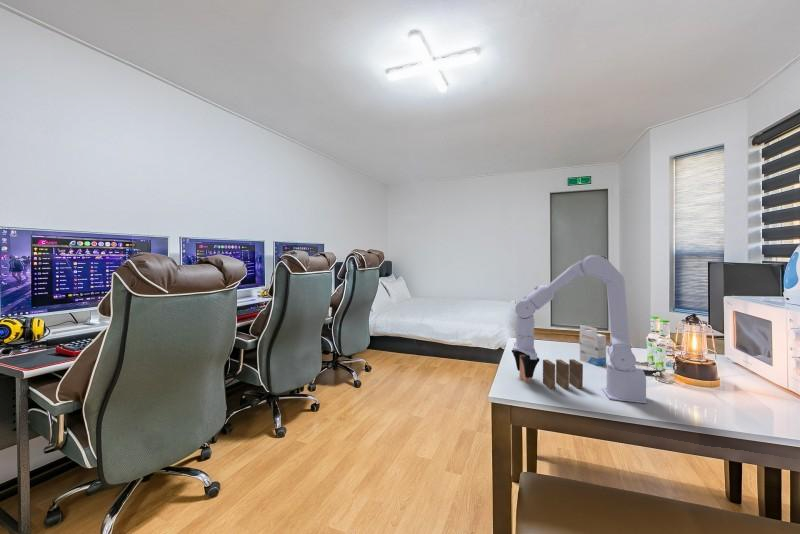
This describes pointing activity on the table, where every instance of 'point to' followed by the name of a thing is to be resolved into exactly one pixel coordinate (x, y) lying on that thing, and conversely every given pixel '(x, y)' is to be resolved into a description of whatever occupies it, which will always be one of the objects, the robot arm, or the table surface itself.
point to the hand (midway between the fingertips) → (524, 373)
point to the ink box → (592, 346)
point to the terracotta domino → (522, 373)
